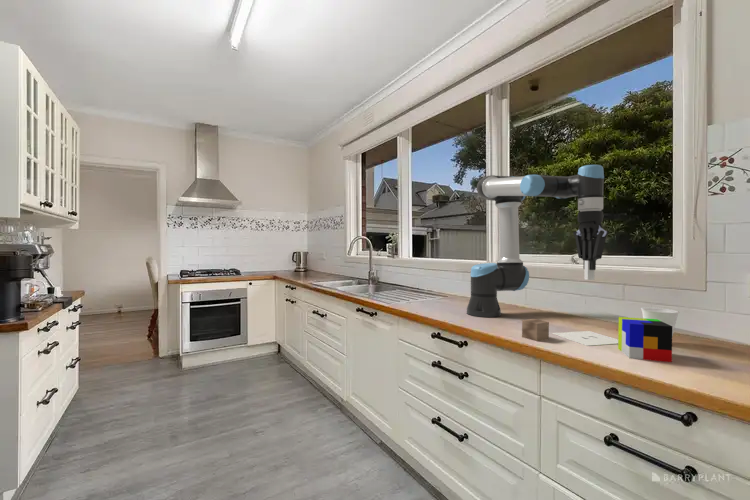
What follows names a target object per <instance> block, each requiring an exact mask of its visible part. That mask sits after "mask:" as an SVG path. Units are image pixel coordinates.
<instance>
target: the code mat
mask: <svg viewBox="0 0 750 500" xmlns="http://www.w3.org/2000/svg"><path fill="white" fill-rule="evenodd" d="M551 334H552V335H554V336H558V337H560V338H563V339H567V340H569V341H571V342H575V343H578V344H581V345H583V346H586V347H593V346H605V345H606V346H608V345H618V338H616V337H615V338H614V337H610V336H607V335H604V334H600V333H598V332H594V331H591V330H585V331H584V330H583V331H567V332H565V331H564V332H552V333H551Z"/></svg>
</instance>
